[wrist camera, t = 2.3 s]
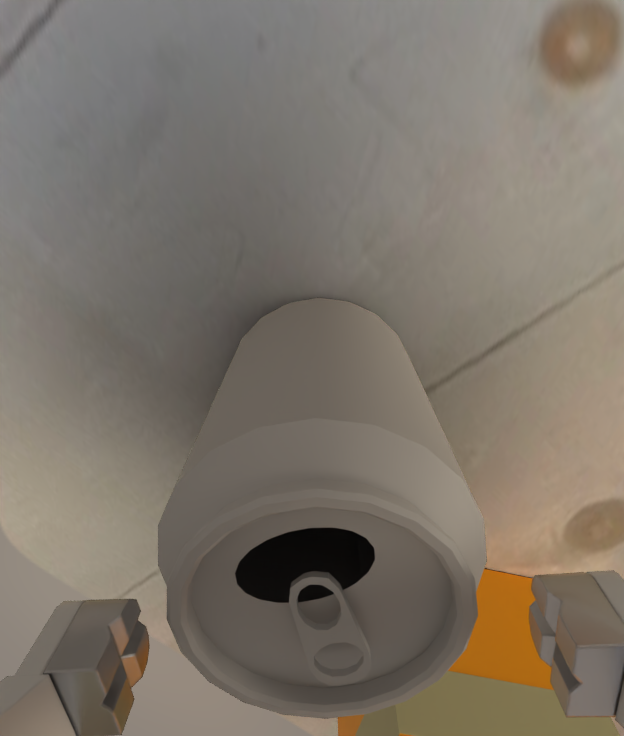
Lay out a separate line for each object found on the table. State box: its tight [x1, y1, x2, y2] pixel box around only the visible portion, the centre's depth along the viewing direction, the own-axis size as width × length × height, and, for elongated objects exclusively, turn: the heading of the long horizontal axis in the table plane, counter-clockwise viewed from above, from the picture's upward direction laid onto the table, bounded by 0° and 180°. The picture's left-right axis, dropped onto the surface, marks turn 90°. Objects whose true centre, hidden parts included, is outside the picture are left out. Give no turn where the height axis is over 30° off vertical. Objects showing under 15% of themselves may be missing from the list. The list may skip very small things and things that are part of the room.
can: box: [158, 298, 487, 719], centre depth 15 cm, size 8×8×12 cm
